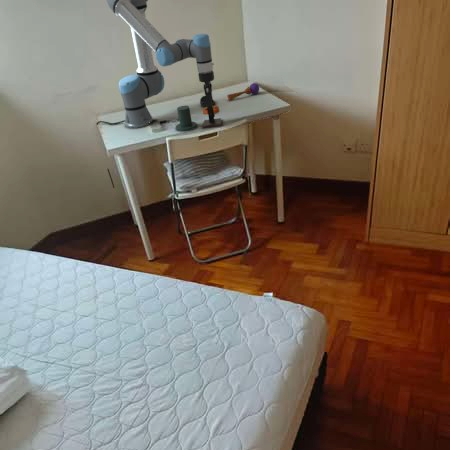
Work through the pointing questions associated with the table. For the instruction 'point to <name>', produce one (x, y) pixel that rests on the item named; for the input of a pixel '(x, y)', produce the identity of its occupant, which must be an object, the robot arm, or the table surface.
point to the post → (216, 124)
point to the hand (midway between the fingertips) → (212, 119)
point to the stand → (185, 119)
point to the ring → (215, 110)
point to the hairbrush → (204, 101)
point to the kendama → (252, 89)
